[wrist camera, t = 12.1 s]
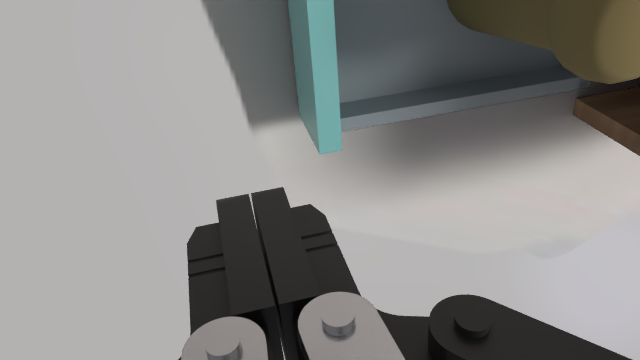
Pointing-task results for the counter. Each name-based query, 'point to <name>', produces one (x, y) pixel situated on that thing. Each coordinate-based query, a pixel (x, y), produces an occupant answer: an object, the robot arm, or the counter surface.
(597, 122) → the wooden drawer cabinet
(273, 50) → the counter surface
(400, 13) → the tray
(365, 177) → the counter surface
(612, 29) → the olive pawn figure
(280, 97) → the counter surface
